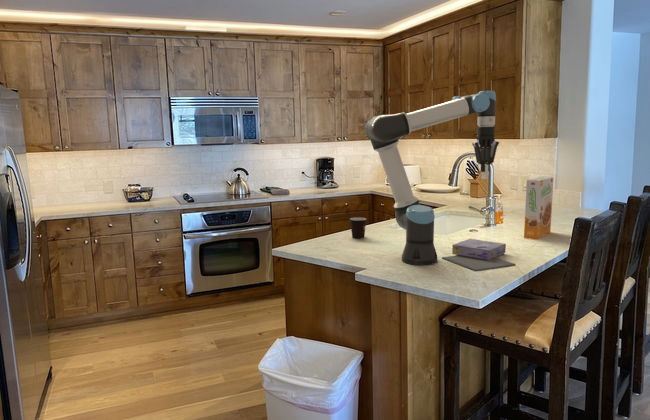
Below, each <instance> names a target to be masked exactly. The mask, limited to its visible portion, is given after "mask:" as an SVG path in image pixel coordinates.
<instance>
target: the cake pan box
mask: <svg viewBox="0 0 650 420" xmlns="http://www.w3.org/2000/svg"><path fill="white" fill-rule="evenodd" d="M506 246H507V245H506V243H501V242H496V241H487V240H481V239H475V238H474V239H473V238H468V239H465V240H462V241H459V242H457V243H455V244H452V248H451V249H452V251H451V253H452V255H454V256H456V255H461V256H467V257H474V258H480V259H486V260H490V259H493V258H495V257H496V258H498V257H499V256H501V255H504V254H506Z"/></svg>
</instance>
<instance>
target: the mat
mask: <svg viewBox="0 0 650 420" xmlns="http://www.w3.org/2000/svg"><path fill="white" fill-rule="evenodd" d="M441 259H442V260H445V261H447V262H450V263H452V264H455V265H458V266H459V267H463V268H465V269H468V270H471V271H473V272H479V271H486V270H491V269H492V270H493V269H500V268H505V267H506V268H507V267H513V266H516V263H514V262H511V261H508V260H505V259H502V258H499V257H495V258H493V259H490V260H486V259H480V258H474V257H467V256H461V255H451V256H450V255H448V256H442V257H441Z"/></svg>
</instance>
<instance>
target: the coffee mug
mask: <svg viewBox="0 0 650 420" xmlns="http://www.w3.org/2000/svg"><path fill="white" fill-rule="evenodd" d="M349 220H350V230H351V238H352V239H354V238H355V239H356V240H362V239H365V235H366V234H365V233H366V227H367V218H365V217H351V218H349ZM361 238H362V239H361ZM355 239H354V240H355Z"/></svg>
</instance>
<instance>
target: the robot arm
mask: <svg viewBox="0 0 650 420" xmlns="http://www.w3.org/2000/svg"><path fill="white" fill-rule="evenodd" d="M496 96H497V95H496V92H495V90H481V91H479V92H477V93H475V94H468V95H456V96H453V97H452V99H451V100H449V101H446V102H444V103H443V102H442V103H440V104H435V105H432V106H428V107H426V108H425V107H424V108H422V109H418V110H415V111H411V112H408V113H406V112H403V111H401V112H400V113H394V114H378V115H375V116H372V117H371V118H370V119H369V120H368V122H367V123H366V125H365V134H366V137H367V138H368V140H370V143H371V146H372V148H373V151H375V152H377V153H378V156H379V158H380V161H381V164H382V168H383V169H384V172H385V176H386V179H387V182H388V184H389V187H390V191H391V193H392V196H393V199H394V201H395V202H394V204H393V209H394V213H395V220H396V223H397V225H398V226H399V227H400V228H402V229H403V230H405V235H406V236H405V238H406V239H405V246H404V248H403V251H402V254H401V262H403V263H405V264H409V265H413V266H430V265H435V264H437V263H438V254H437V250H436V248H435V244H434V241H435V240H434V239H435V237H434V236H435V218H436V216H435V211H434V209H433V208H432V207H430V206H428V205H423V204H421V203H420V200H419V198H418V197H417V196H415V195H414V193H413V190H412V187H411V184H410V181H409V178H408V176H407V171H406V170H405V169H406V168H405V166H404V163H403V161H402V156H401V155H400V151H399V148H398V144H399V141H400V140H399V139H400V138H402V137H407V136H410V134H411V133H412V132H414V131H418V130H421V129H424V128H428V127H431V126H434V125H438V124H442V123H446V122H449V121H452V120H455V119H459V118H462V117H466V116H469V115H473V114H477V120H476V121H477V122H476V123H477V124H476V125H477V126H478V127H477V128H476V130H477V131H476V135H477V138H476V141H474V142H472V143H471V144H472V147H473V150H474V155H475V161H476V163H477V164H479V165H480V172H481V180H488V179H489V172H490V168H491V167H490V165H492V164H494V162H495V158H496V153H497V150H498V149H497V148H498V146H499V144H500V141H496V139H495V134H496V132H495V131H496V127H495V125H496V105H497V97H496Z"/></svg>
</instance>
